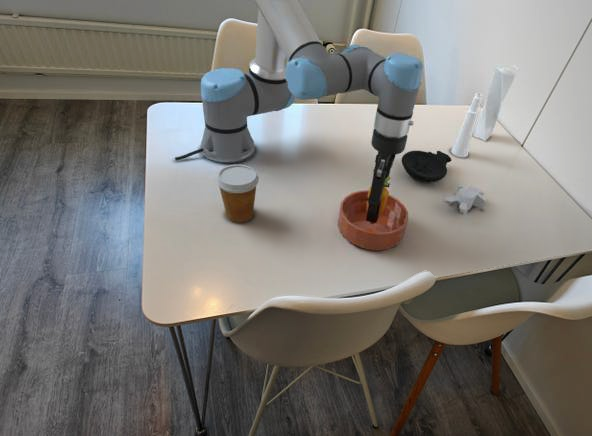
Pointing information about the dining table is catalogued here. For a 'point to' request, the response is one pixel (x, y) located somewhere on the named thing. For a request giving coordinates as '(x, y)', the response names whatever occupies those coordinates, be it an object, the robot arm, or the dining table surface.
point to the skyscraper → (494, 101)
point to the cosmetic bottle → (467, 128)
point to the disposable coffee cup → (238, 191)
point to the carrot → (383, 198)
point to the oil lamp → (426, 165)
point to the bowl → (372, 235)
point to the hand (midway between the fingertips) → (373, 214)
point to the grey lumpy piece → (467, 198)
